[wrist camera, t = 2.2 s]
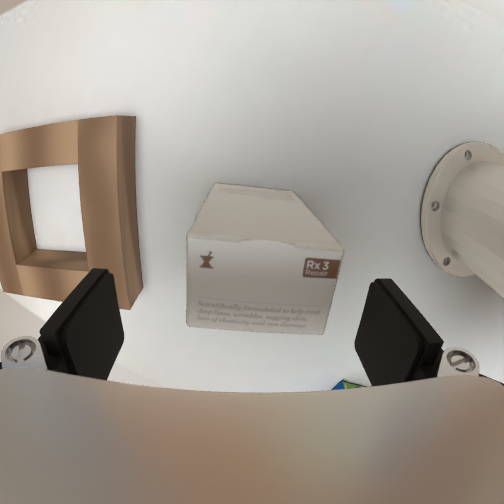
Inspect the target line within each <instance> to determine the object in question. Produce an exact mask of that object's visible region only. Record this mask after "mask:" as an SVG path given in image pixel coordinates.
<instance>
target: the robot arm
mask: <svg viewBox="0 0 504 504" xmlns="http://www.w3.org/2000/svg"><path fill="white" fill-rule="evenodd" d="M421 228H422V236H423V240H424V244H425V247H426V249H427V251H428V253H429V255H430V257H431V258H432V259H433V261H434V262H435V263H436V264H437V265H438V266H439V267H440V268H441V269H442V270H444V271H445V272H447V273H449V274H451V275H454V276H457V277H468V276H472V275H477V276H478V277H479V278H480V279H482V280H483V281H484V282H485V283H486V284H488V285H489V286H490V287H491V288H492V289H493V290H495V291H496V292H497V293H498V294H499V295H500V296H501V297H503V298H504V154H503V153H502V152H501V151H500V150H499V149H497V148H495V147H493V146H491V145H489V144H485V143H480V142H469V143H464V144H461V145H459V146H457V147H455V148H454V149H452V150H451V151H450V152H449V153H448V154H446V155H445V156H444V157H443V159H442V160H441V161H440V162H439V164H438V165H437V166H436V168H435V170H434V172H433V174H432V175H431V177H430V179H429V182H428V185H427V188H426V190H425V194H424V199H423V203H422V212H421ZM40 334H41V336H40V337H39V339H38V340H37V339H36V338H34V337H30V336H22V337H18V338H15V339H13V340H11V341H10V342H8V343H7V344H6V345H5V346H4V348H3V350H2V353H1V360H2V362H0V504H504V384H503V383H501V382H498V381H496V380H493V379H491V378H488V377H486V376H484V375H481V374H479V362H478V361H477V359H476V358H475V356H474V355H473V354H471V353H470V352H468V351H466V350H464V349H461V348H456V347H452V348H448V349H446V350H445V351H443V350H442V348H441V347H442V345H443V343H444V341H443V340H442V339H441V337H440V336H439V335H438V334H437V332H436V331H435V330H434V329H433V327H432V326H431V325H430V324H429V323H428V321H427V320H426V319H425V318H424V316H423V315H422V314H421V313H420V312H419V310H418V309H417V308H416V307H415V306H414V305H413V303H412V302H411V301H410V300H409V299H408V297H407V296H406V295H405V294H404V293H403V292H402V291H401V289H400V288H399V287H398V286H397V285H396V284H395V283H394V281H393V280H392V279H376V280H375V281H374V282H372V283H371V284H370V287H369V291H368V295H367V299H366V302H365V306H364V310H363V314H362V317H361V321H360V325H359V328H358V332H357V335H356V338H355V350H356V352H357V354H358V356H359V358H360V361H361V363H362V365H363V367H364V369H365V372H366V374H367V376H368V378H369V380H370V383H371V385H372V386H371V387H362V388H352V389H340V390H327V391H311V392H283V393H239V392H211V391H194V390H181V389H170V388H160V387H150V386H142V385H134V384H127V383H120V382H113V381H107V378H108V376H109V373H110V371H111V369H112V367H113V364H114V362H115V360H116V358H117V355H118V353H119V351H120V349H121V347H122V344H123V342H124V331H123V326H122V321H121V316H120V311H119V305H118V299H117V293H116V287H115V281H114V275H113V274H112V273H110V272H109V270H108V269H100V268H93V269H91V270H90V272H89V273H88V274H87V275H86V276H85V277H84V278H83V279H82V280H81V282H80V283H79V284H78V285H77V286H76V287H75V288H74V290H73V291H72V292H71V293H70V294H69V295H68V297H67V298H66V299H65V300H64V301H63V302H62V304H61V305H60V306H59V307H58V308H57V310H56V311H55V312H54V313H53V315H52V316H51V317H50V318H49V319H48V321H47V322H46V323H45V325H44V326H43V327H42V328H41V329H40Z"/></svg>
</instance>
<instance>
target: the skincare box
mask: <svg viewBox="0 0 504 504" xmlns="http://www.w3.org/2000/svg"><path fill="white" fill-rule="evenodd" d="M343 255H344V249H343V247H342V246H341V245H340V244H339V243H338V241H337V240H336V239H335V238H334V237H333V236H332V235H331V233H330V232H329V231H328V230H327V229H326V228H325V227H324V225H323V224H322V223H321V222H320V221H319V220H318V219H317V218H316V216H315V215H314V214H313V213H312V212H311V211H310V210H309V209H308V207H307V206H306V205H305V204H304V203H303V202H302V201H301V200H300V199H299V198H298V196H297V195H296V194H295V193H294V192H292V191H286V190H277V189H269V188H260V187H251V186H241V185H231V184H220V183H215V184H213V187H212V188H211V190H210V192H209V194H208V196H207V197H206V199H205V201H204V203H203V205H202V207H201V208H200V210H199V212H198V214H197V216H196V218H195V220H194V223H193V225H192V227H191V228H190V230H189V232H188V233H187V308H186V324H187V325H188V326H189V327H198V328H211V329H224V330H237V331H251V332H270V333H290V334H316V335H322V334H323V333H324V330H325V326H326V323H327V319H328V315H329V311H330V307H331V303H332V299H333V295H334V291H335V287H336V283H337V279H338V275H339V271H340V267H341V262H342V258H343Z"/></svg>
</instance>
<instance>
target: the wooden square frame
mask: <svg viewBox="0 0 504 504" xmlns="http://www.w3.org/2000/svg"><path fill="white" fill-rule="evenodd" d="M67 164H78V171H79V188H80V201H81V212H82V222H83V231H84V238H85V246H86V252H72V251H56V250H40V249H37V247H36V242H35V236H34V230H33V224H32V217H31V209H30V201H29V191H28V180H27V168H35V167H45V166H55V165H67ZM93 268H100V269H108V270H109V272H110V273H112V274H113V275H114V281H115V287H116V293H117V299H118V305H119V309H127V310H130V309H131V307H132V306H133V304H134V302H135V300H136V299H137V297H138V295H139V294H140V292H141V290H142V288H143V284H142V275H141V265H140V255H139V243H138V229H137V212H136V188H135V116H107V117H98V118H89V119H81V120H74V121H67V122H61V123H55V124H49V125H43V126H38V127H33V128H28V129H23V130H18V131H14V132H9V133H5V134H1V135H0V282H1V285H2V289H3V292H7V293H13V294H18V295H24V296H30V297H36V298H42V299H49V300H55V301H62V302H63V301H64V300H65V299H66V298H67V297H68V295H69V294H70V293H71V292H72V291H73V290H74V288H75V287H76V286H77V285H78V284H79V283H80V282H81V280H82V279H83V278H84V277H85V276H86V275H87V274H88V273H89V272H90V270H91V269H93Z"/></svg>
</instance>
